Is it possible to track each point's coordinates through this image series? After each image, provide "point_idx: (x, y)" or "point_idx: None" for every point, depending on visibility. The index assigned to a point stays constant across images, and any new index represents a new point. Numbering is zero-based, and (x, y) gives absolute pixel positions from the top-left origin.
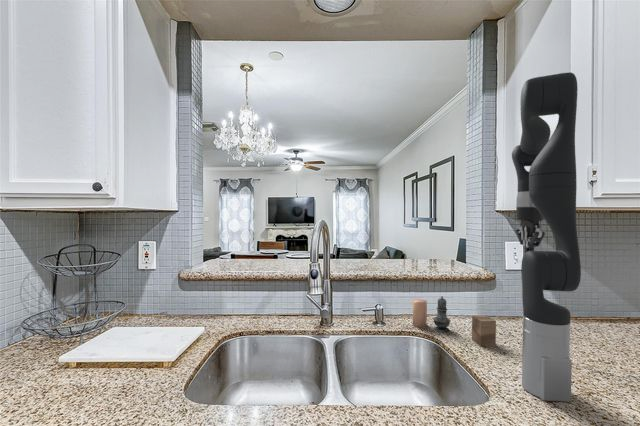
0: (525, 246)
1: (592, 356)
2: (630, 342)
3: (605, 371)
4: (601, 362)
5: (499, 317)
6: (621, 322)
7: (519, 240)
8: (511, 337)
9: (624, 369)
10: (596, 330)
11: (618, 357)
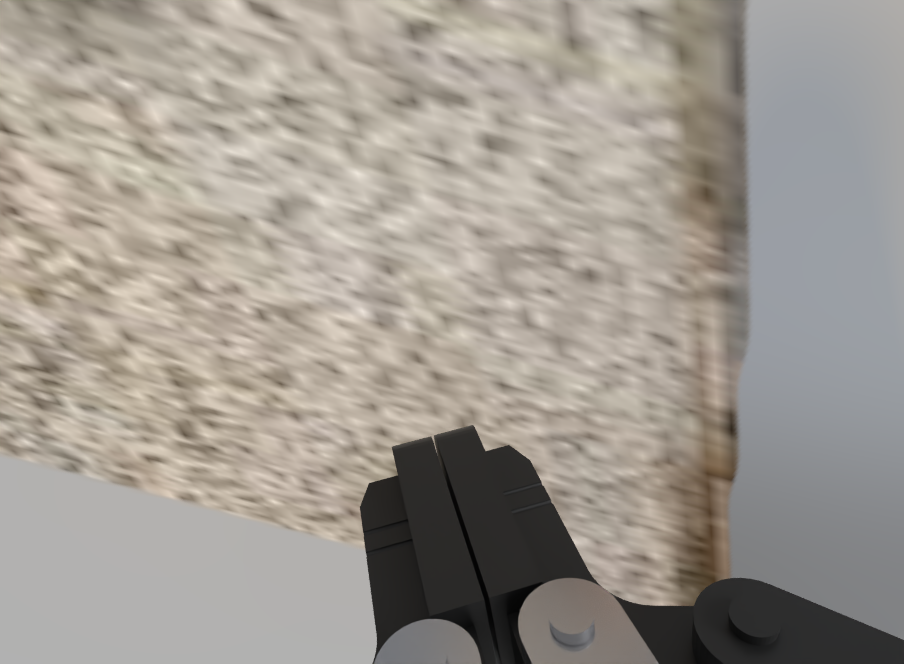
0: (522, 625)
1: (238, 399)
2: None
3: (70, 394)
4: (177, 411)
5: (715, 113)
6: (680, 599)
7: (890, 652)
8: (371, 84)
9: (137, 464)
10: (574, 502)
11: (271, 484)
